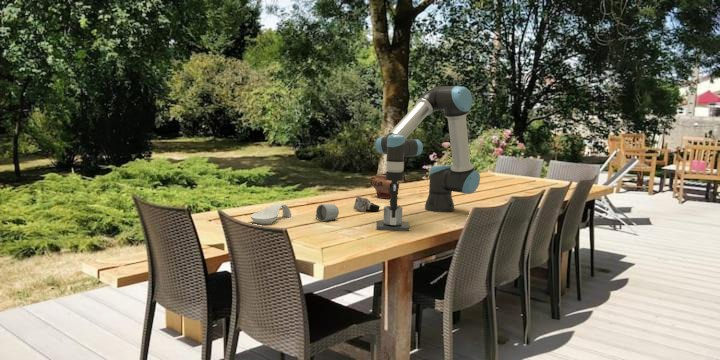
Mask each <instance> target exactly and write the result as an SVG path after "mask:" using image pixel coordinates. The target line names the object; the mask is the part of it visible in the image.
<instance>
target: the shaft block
mask: <svg viewBox="0 0 720 360" xmlns="http://www.w3.org/2000/svg"><path fill="white" fill-rule="evenodd" d="M409 224H410V223H409V222H408V221H402V224H401V225H387V224H384V223H383V220H376V231H393V232H395V231H399V232H410V225H409Z"/></svg>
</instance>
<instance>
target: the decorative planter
mask: <svg viewBox="0 0 720 360" xmlns="http://www.w3.org/2000/svg"><path fill="white" fill-rule="evenodd" d="M391 182H392V181H389V180H386V172H385V173H378V174H375V175H373V176H371V177H370V178H369V184H370V186H372V187H373V188H374V189H375V192H376V196H377V197H378V198H380V199H390V184H391ZM397 184H399V185H400V183H399V181H397Z"/></svg>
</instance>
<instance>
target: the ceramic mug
mask: <svg viewBox="0 0 720 360" xmlns="http://www.w3.org/2000/svg"><path fill="white" fill-rule="evenodd" d="M339 214H340V213H339V207H338V206H337V205H336V204H332V203H331V204H330V203H326V204H325V203H322V204H319V205H318V206H317V207H316V211H315V218H316V219H317V220H319V222H326V221H334V220H336V219H337V218H338V217H339Z"/></svg>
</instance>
